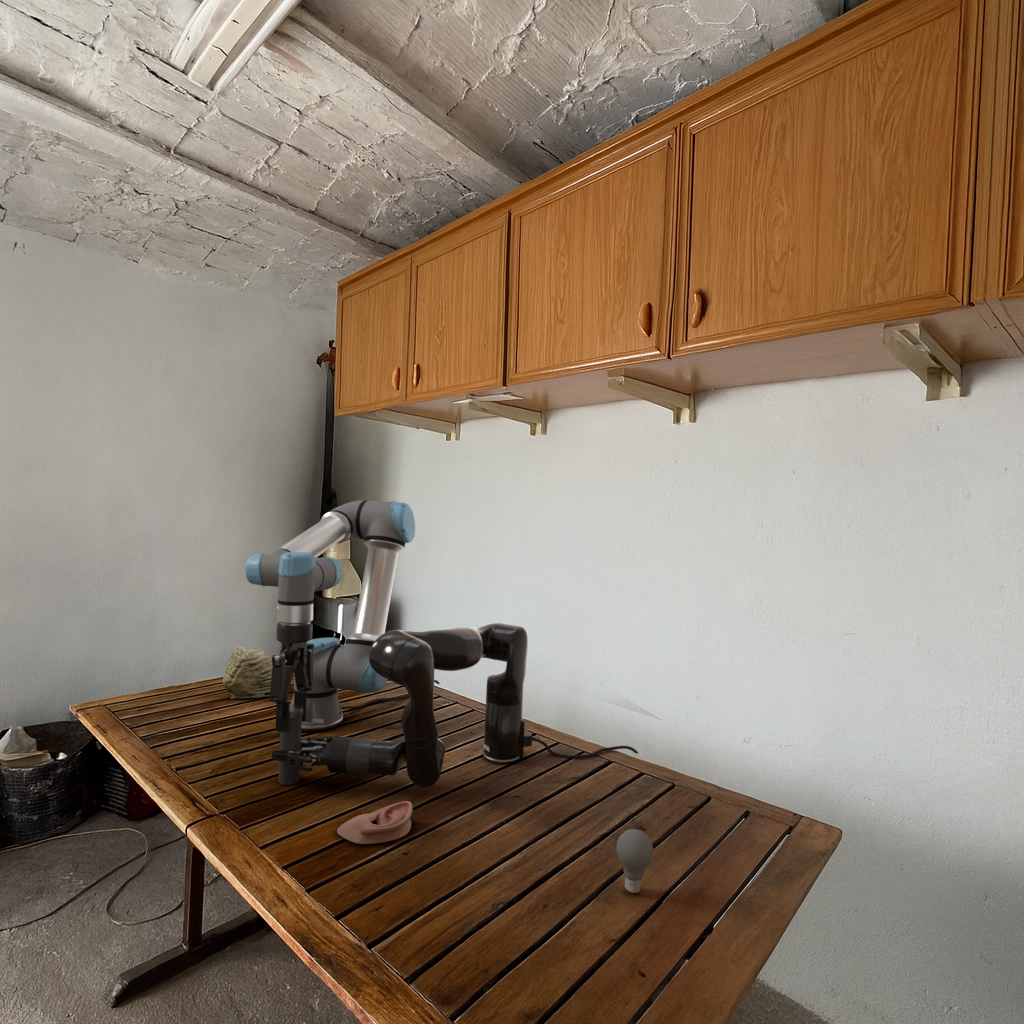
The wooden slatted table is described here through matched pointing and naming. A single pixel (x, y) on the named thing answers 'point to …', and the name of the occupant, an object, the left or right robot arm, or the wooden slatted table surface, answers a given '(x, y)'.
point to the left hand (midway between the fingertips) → (291, 725)
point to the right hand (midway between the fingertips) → (278, 750)
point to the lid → (295, 711)
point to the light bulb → (634, 857)
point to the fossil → (248, 673)
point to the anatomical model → (379, 825)
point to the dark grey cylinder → (290, 742)
